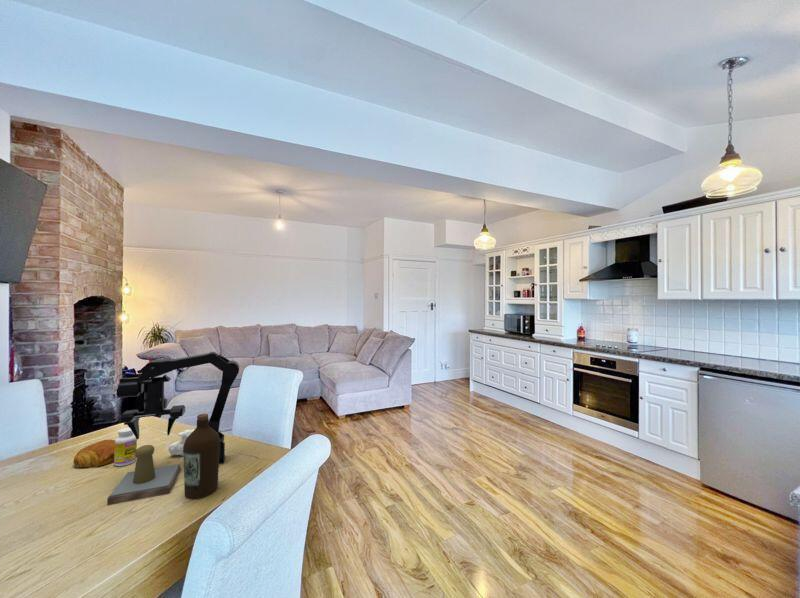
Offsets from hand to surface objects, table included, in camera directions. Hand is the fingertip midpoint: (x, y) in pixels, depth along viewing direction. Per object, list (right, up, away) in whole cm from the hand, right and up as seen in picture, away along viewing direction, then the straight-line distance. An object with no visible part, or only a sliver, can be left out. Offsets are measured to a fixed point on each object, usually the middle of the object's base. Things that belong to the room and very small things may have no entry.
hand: (153, 436), depth 119 cm
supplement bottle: (-16, -13, +7) cm, 22 cm away
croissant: (-27, -13, +9) cm, 32 cm away
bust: (+2, -14, +15) cm, 20 cm away
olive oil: (+25, -13, -12) cm, 30 cm away
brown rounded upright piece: (+4, -11, -9) cm, 15 cm away
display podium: (+5, -13, -9) cm, 16 cm away
